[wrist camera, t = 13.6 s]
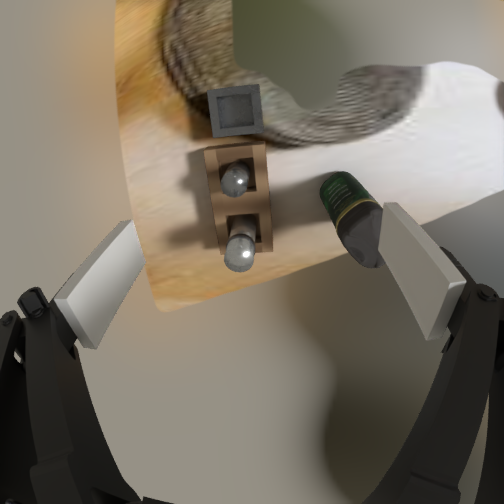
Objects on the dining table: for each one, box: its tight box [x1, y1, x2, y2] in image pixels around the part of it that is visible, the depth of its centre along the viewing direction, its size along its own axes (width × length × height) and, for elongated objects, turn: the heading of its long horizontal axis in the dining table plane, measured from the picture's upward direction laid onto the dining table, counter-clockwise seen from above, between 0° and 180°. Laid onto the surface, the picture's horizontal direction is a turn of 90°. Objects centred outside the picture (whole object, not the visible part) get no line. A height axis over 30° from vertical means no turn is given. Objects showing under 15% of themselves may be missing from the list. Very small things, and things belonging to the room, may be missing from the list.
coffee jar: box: [320, 171, 386, 268], centre depth 42 cm, size 10×8×19 cm
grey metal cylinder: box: [224, 214, 257, 272], centre depth 47 cm, size 5×5×13 cm
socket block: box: [207, 84, 264, 138], centre depth 41 cm, size 8×8×4 cm
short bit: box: [221, 161, 250, 198], centre depth 44 cm, size 4×4×8 cm
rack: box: [204, 141, 273, 255], centre depth 49 cm, size 20×10×4 cm, turn 6°
